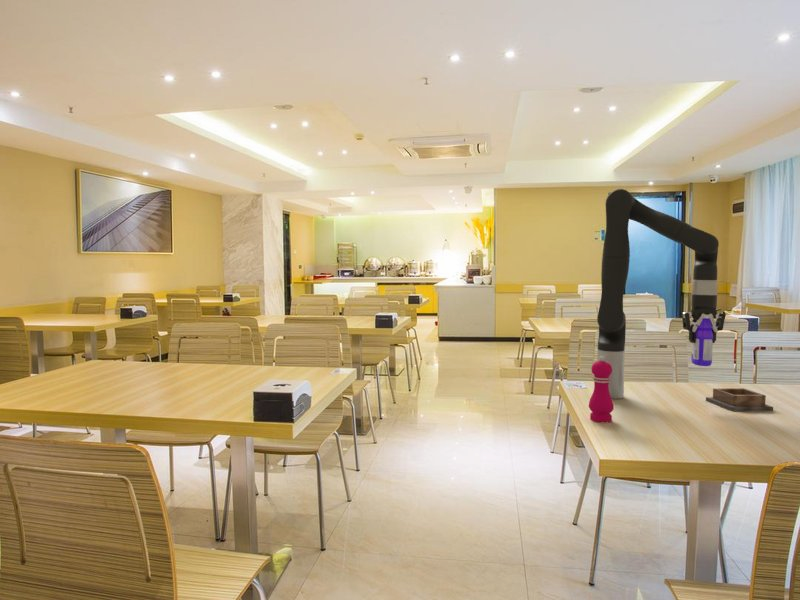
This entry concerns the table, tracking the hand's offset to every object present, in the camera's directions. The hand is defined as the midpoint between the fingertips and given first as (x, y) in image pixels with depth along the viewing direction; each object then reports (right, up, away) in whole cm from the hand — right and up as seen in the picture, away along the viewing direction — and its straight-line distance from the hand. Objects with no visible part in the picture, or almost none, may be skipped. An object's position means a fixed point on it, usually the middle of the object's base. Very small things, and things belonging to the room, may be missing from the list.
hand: (702, 342), depth 179 cm
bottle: (0, -8, 0) cm, 8 cm away
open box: (+13, -22, +1) cm, 25 cm away
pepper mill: (-41, -23, -16) cm, 49 cm away
